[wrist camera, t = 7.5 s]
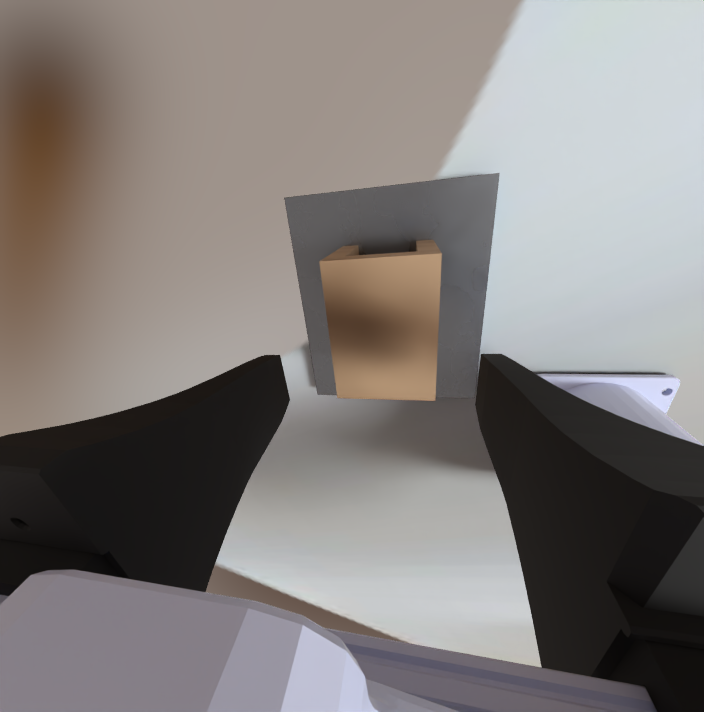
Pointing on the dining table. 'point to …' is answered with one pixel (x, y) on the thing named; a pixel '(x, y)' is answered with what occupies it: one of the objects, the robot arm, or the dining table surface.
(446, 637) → the dining table surface
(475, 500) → the dining table surface
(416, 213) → the base plate
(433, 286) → the box
